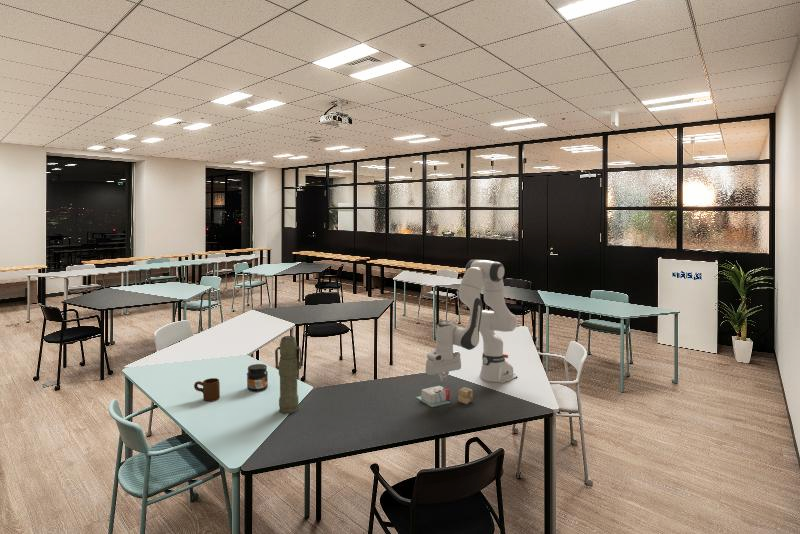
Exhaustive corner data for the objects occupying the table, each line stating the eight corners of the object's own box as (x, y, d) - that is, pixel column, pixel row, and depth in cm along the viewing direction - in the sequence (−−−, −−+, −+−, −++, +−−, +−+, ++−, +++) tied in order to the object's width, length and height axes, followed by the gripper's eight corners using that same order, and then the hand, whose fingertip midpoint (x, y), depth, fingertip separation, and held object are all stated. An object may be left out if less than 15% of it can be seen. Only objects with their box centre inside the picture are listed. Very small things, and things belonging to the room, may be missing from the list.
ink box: (450, 390, 229) (431, 394, 222) (449, 400, 229) (431, 404, 222) (439, 385, 236) (421, 388, 229) (438, 394, 236) (420, 398, 230)
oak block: (463, 398, 232) (464, 387, 231) (472, 401, 228) (472, 389, 228) (458, 401, 228) (458, 389, 228) (466, 404, 225) (466, 392, 224)
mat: (433, 393, 238) (433, 393, 237) (450, 402, 226) (450, 402, 226) (415, 397, 232) (415, 397, 232) (431, 407, 220) (431, 406, 220)
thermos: (276, 407, 218) (275, 335, 214) (301, 405, 220) (301, 334, 216) (274, 414, 209) (273, 340, 206) (301, 413, 211) (300, 339, 208)
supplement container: (259, 393, 234) (259, 370, 233) (242, 390, 238) (242, 368, 237) (271, 386, 244) (271, 364, 243) (255, 384, 248) (255, 362, 247)
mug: (191, 402, 222) (191, 383, 221) (197, 396, 229) (196, 378, 228) (217, 401, 223) (216, 383, 222) (221, 395, 230) (221, 377, 230)
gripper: (456, 349, 238) (455, 375, 239) (424, 354, 227) (423, 381, 229) (464, 352, 233) (463, 378, 234) (431, 358, 222) (430, 385, 223)
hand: (443, 380), depth 231 cm, fingers closed
